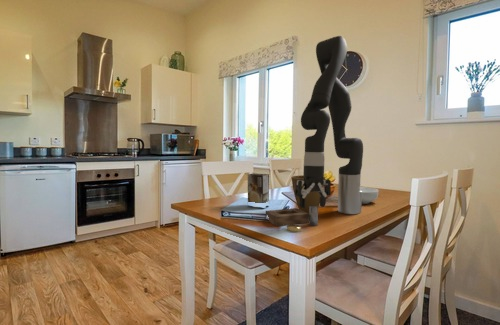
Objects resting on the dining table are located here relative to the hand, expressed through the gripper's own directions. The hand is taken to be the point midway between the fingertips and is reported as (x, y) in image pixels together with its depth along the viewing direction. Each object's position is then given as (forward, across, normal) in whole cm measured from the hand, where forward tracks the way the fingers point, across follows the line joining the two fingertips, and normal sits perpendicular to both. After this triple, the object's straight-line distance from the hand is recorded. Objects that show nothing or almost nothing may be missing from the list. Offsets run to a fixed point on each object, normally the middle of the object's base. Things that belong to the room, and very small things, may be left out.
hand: (312, 207), depth 103 cm
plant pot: (+7, -10, -18) cm, 21 cm away
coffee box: (+7, +8, -35) cm, 36 cm away
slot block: (+7, +6, -8) cm, 12 cm away
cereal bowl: (+6, -48, -26) cm, 55 cm away
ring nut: (+7, +9, +3) cm, 12 cm away
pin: (+7, -1, 0) cm, 7 cm away
